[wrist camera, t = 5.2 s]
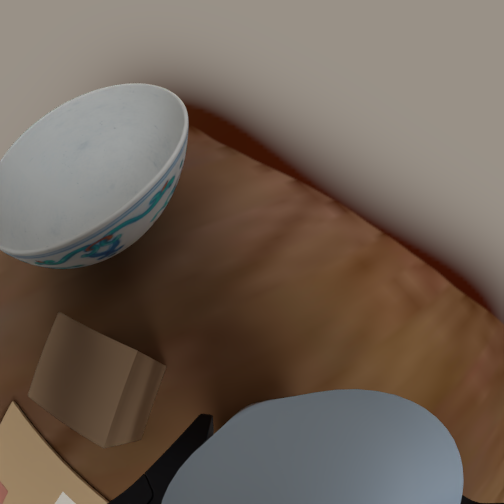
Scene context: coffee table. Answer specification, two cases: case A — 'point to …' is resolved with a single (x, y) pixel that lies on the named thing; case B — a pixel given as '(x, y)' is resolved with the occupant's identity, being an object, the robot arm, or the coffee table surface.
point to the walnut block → (95, 383)
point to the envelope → (36, 468)
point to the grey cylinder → (324, 454)
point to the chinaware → (91, 175)
